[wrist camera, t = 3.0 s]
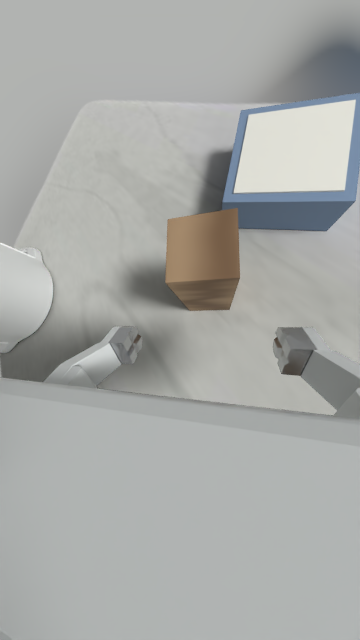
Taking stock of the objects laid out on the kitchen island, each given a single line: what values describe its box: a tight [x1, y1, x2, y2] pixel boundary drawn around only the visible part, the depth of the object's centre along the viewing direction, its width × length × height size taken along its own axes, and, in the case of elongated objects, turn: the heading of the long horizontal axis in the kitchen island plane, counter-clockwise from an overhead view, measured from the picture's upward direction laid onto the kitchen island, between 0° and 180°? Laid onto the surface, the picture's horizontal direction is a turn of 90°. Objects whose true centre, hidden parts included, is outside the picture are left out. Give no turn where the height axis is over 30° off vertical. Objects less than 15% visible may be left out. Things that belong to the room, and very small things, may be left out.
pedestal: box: [222, 93, 360, 231], centre depth 19 cm, size 12×12×4 cm
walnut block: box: [165, 208, 240, 311], centre depth 16 cm, size 5×5×10 cm
